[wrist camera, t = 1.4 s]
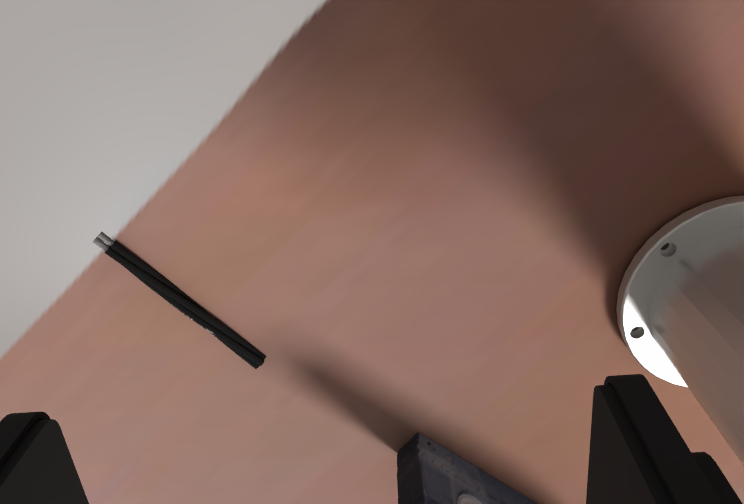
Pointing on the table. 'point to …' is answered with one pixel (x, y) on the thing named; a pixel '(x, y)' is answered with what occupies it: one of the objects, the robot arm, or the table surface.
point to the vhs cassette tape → (446, 478)
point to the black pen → (180, 300)
